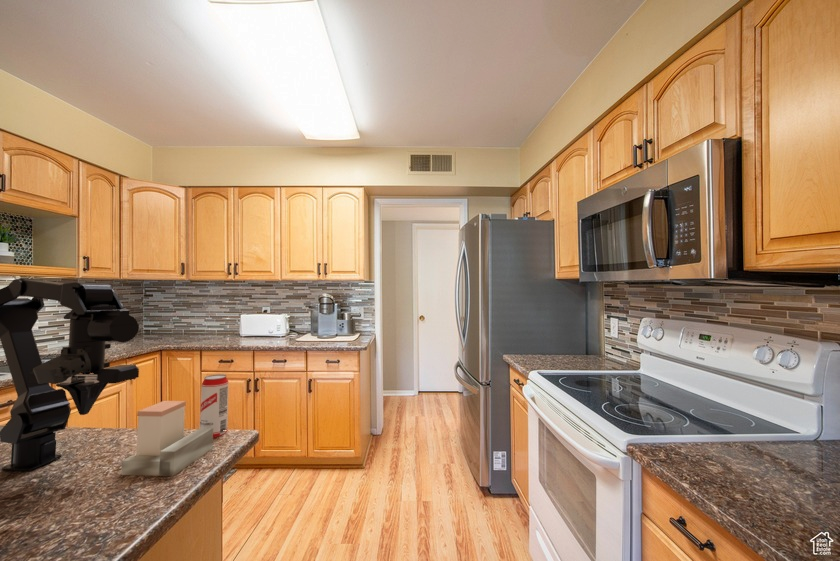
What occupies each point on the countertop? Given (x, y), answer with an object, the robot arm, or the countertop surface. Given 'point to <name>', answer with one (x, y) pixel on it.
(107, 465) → the countertop surface
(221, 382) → the beer can
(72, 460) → the countertop surface
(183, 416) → the push key
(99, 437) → the countertop surface
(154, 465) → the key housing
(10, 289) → the robot arm
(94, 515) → the countertop surface
